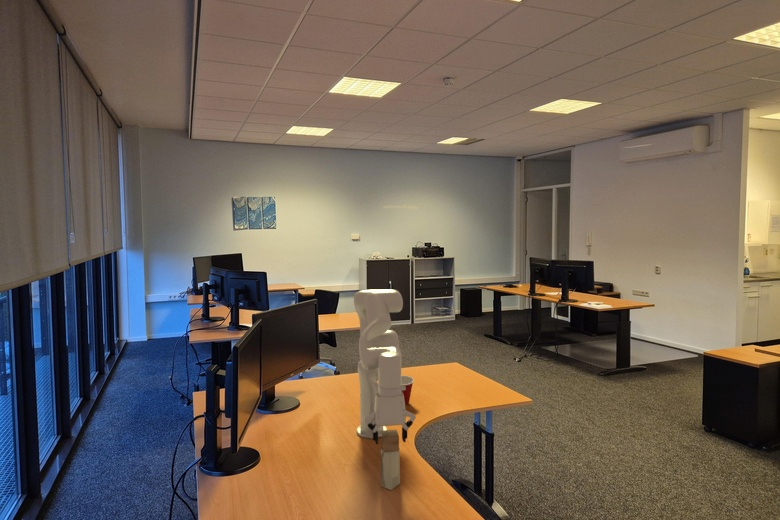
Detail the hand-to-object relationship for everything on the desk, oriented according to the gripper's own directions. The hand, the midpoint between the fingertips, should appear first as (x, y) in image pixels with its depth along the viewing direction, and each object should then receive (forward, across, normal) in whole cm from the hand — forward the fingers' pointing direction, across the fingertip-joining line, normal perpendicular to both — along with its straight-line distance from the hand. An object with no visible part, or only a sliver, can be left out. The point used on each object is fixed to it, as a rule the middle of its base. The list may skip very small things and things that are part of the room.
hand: (390, 441), depth 156 cm
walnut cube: (+2, 0, 0) cm, 2 cm away
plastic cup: (+15, -16, -70) cm, 73 cm away
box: (+15, 0, 0) cm, 15 cm away
